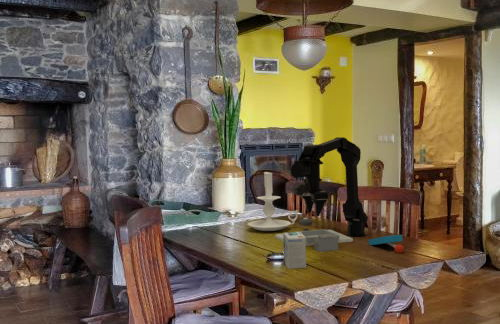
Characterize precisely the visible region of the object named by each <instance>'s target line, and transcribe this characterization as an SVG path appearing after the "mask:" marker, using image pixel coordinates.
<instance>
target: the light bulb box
mask: <svg viewBox="0 0 500 324" xmlns="http://www.w3.org/2000/svg"><path fill="white" fill-rule="evenodd" d="M282 234H283V241H282V243H283V262H284V264H285V266H286V268H287V269H289V270H291V269H306V268H307V250H306V249H307V248H306V247H307V246H306V237H305V236H304V235H303V234H302V233H301V232H300V231H294V232H293V231H292V232H290V231H289V232H283V233H282Z"/></svg>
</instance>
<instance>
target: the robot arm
mask: <svg viewBox="0 0 500 324" xmlns="http://www.w3.org/2000/svg"><path fill="white" fill-rule="evenodd" d="M335 150H336V152H337V153H338V154H339V155H340V159H341V163H343V166H344V167H345V185H346V200H345V202H343V203H342V213H343V216H344V220H345V221H346V222H348V223H347V233H346V235H348V236H349V237H352V238H353V237H364V236H365V237H366V236H367V234H366V233H365V223H367V222H368V219H369V217H368V215H367V214H366V212H365V211H364V206H363V203H362V202H361V200H360V197H359V185H358V184H359V181H358V179H359V178H358V165H359V163H360V161H361V153H362V152H361V148H360V147H359V146H358V145H356V144H355V143H353V142H352V141H350V140H348V139H347V138H346V137H343V136H342V137H341V136H339V137H335V138H333V139H331V140H330V139H329V140H328V141H324V142H321V143H319V144H306V145H304V146H303V149H302V151H301V153H300V156H299V157H298V160H293V164H292V165H291V167H290V174H291V176H292V177H293V178H294V179H301V178H303V182H301V183H298V184H297V185H294V186H292V187H291V189H292V191H293V194H294V196H295V195H296V196H297V197H298V196H299V197H301V198H302V200H304V203H305V206H306V210H307V213H308V214H311V213H312V210H313V207H314V210H315V215H316V217H320V215H321V213H322V211H323V209H324V206H325V205H326V202H327V201H328V199H330V194H329V192H328V191H325V190H323V189H322V188H321V182H322V181H323V179H322V178H321V165H323V164H324V162H323V161H322V158H323V157H325V154H327V153H330V152H331V151H335Z"/></svg>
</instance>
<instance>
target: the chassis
mask: <svg viewBox="0 0 500 324" xmlns="http://www.w3.org/2000/svg"><path fill="white" fill-rule="evenodd" d="M299 232H301V233H302V234H303V235H304V236H305V237H306V247H308V246H314V237H318V235H322V234H333V235H334V236H335V237H337V238H338V244H339V243H350V242H351V243H352V242H354V238H353V237H351V236H349V235H348V236H347V235H344V234H342V233H340V232H337V231H335V230H332V229H314V230H313V229H312V230H309V228H303V229H302V231H299ZM274 238H276V239H277V240H278V241H281V242H283V233H277V234H274Z"/></svg>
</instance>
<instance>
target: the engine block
mask: <svg viewBox="0 0 500 324" xmlns="http://www.w3.org/2000/svg"><path fill="white" fill-rule="evenodd" d="M313 250H315V251H317V252H318V253H322V252H330V251H331V252H333V251H338V250H339V243H338V238H337V237H335V236H334V235H333V234H322V235H318V237H314V245H313ZM332 250H333V251H332Z"/></svg>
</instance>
